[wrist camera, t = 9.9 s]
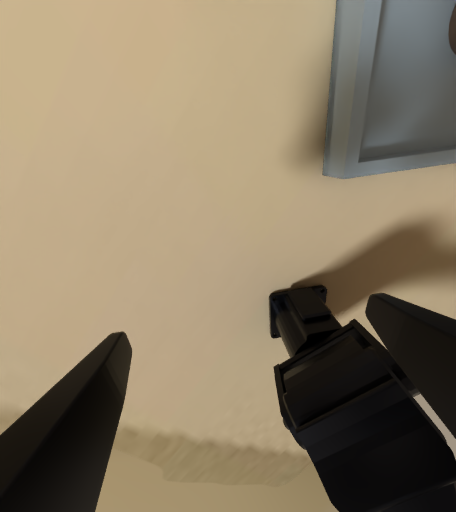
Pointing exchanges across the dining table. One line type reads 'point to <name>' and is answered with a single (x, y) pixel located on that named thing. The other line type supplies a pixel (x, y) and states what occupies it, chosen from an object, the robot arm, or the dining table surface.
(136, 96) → the dining table surface
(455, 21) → the shaker
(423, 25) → the tray
